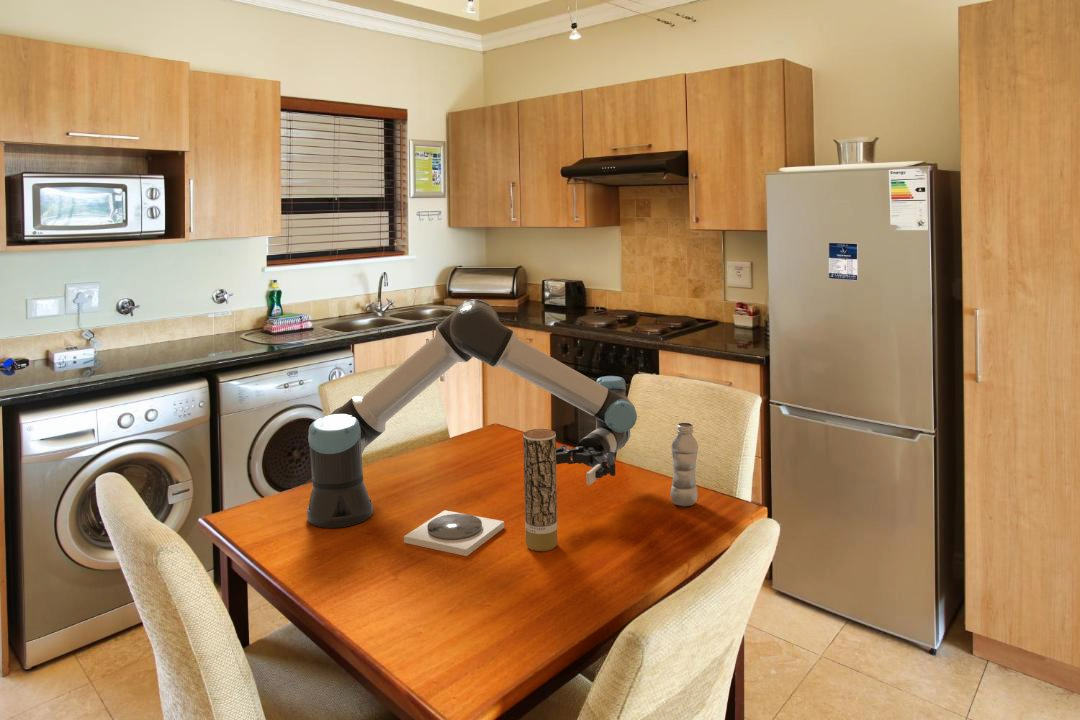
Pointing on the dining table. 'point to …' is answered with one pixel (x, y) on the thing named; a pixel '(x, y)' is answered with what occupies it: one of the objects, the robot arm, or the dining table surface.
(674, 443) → the plastic bottle
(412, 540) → the domed button base
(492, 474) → the dining table surface
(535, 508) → the paper tube
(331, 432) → the robot arm
